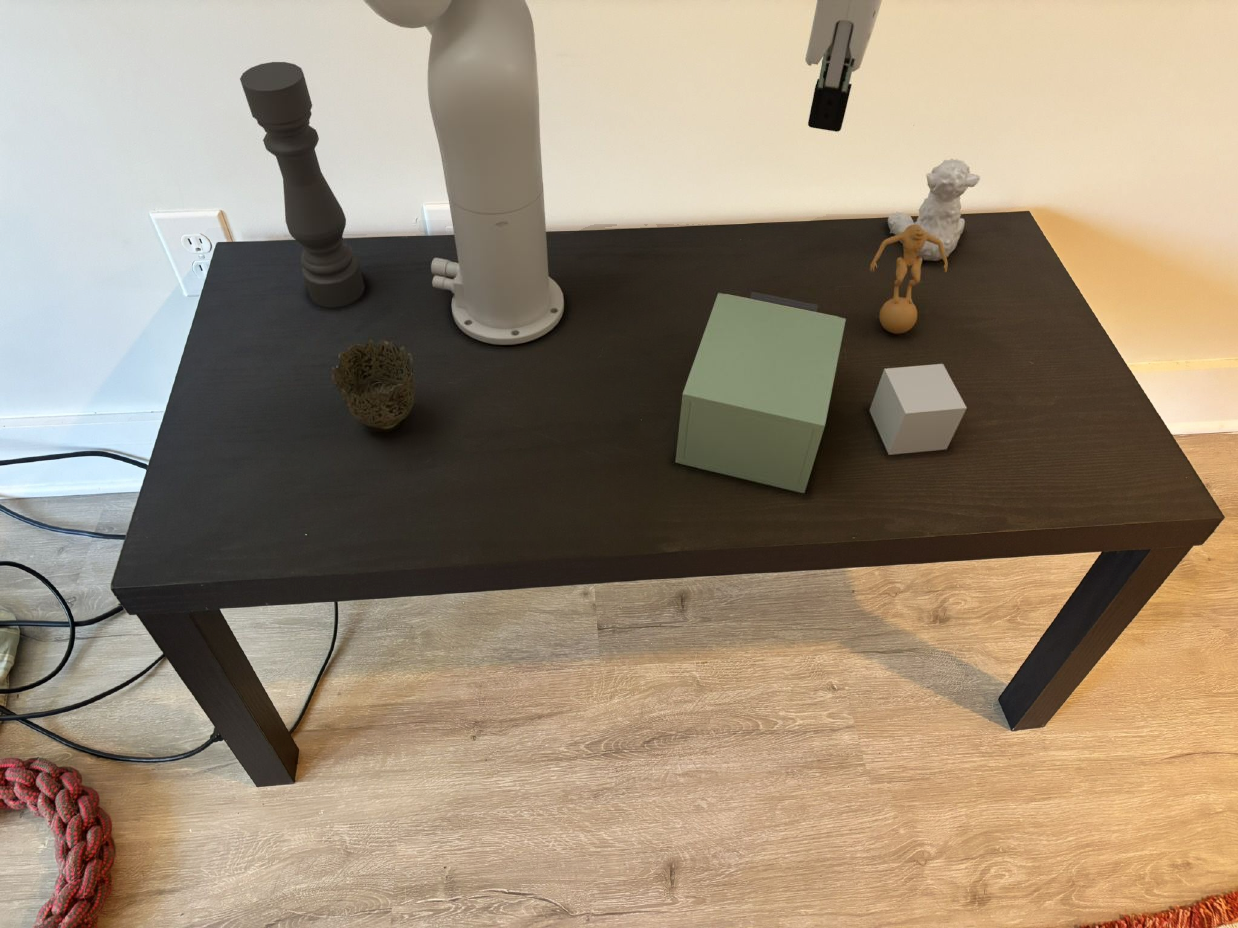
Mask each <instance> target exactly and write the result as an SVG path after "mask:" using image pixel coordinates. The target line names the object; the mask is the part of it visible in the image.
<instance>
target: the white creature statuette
mask: <svg viewBox="0 0 1238 928" xmlns="http://www.w3.org/2000/svg"><path fill="white" fill-rule="evenodd" d="M925 176H926V181H927V187H928V188H929V193H928V195H927V197H926V198H924V200H923V202H922V204H920V207H919V209H918V217H917V219H916V221H915V222H914V219H913V218H912V217H911V216H910V215H908V214H906V213H905V212H903V211H902V212H899V211H896V212H892V213H891V214H890V215H889V216H888V218H887V225H888V228H889V230H890V231H889V234H893V236H896V235H897V234H899V233H901V232H904V231H905V229H906V228H907V227H908V226H910V225H919V226H920V227H921V228H922V229H923V231H925V232H927V233H929V234H930V235H931V236H933V237H936V238H937V239H939V240H940V241H941V242H942V243H943V249H944V252H945V254H946V257H947V258H949V256H950V254H951V253H952V252H953V251H954V250H955V249H956V248H957V245H958V242H959V240H960V238H961V235H962V234H963V232H964V228H965V224H966V221H965V219H964V218H962V217H961V216H962V212H961V209H962V205H961V204H962V203H961V196H963V195H964V193H965V192H967V190H968V189H969V188H973V187H975V186H976V185H978V183H979V182H980V180H981V176H980V175H978V174H974V173H971V171H970V166H969V165H968V164H967V163H965V161H964V160H959V159H953V158H950V159H944V160H943V161H942V163H940V164H939V165H938V166H937V165H936V166H935V167H933V168H932V170H931V172H928V173H926V175H925ZM899 242H900V244H902V245H903V241H899ZM919 257H921V258H922V261H928V262H937V261H940V260H943V259H942V257H941V254H940V250H939V246H938V245H937V244H934V243H931V242H929V241H925V244H924V246H923V248H922V249H921V250H920V252H919V253H918V254H917V257H916V259H917V258H919Z"/></svg>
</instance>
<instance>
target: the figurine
mask: <svg viewBox="0 0 1238 928" xmlns="http://www.w3.org/2000/svg"><path fill="white" fill-rule="evenodd" d="M900 241H903V244H902V249H903V257H902V256H900V257H897V259H896V260H895V261H896V262H895V265H896V270H895V277H896V280H894V283H893V284H894V288H893V297H892V298H890V299H887V301H885V303H883V305H882V307H880V310H879V315H878V316H879V323H880V324H881V327H882V328H883V329H884V330H886V332H888V333H891V334H897V335H898V334H899V335H900V334H903V333H907V332H909V330H911V329H912V328H914V326H915V324H916V322H917V319H918V310H917V309H918V308H917V307H916V305H915V304H914V303H913V299H912V287H914V286H916V285H918V284H919V283H920V282H921V274H922V270H921V268H922V264H923V260H922V258H921V257H919V258H917V254H918V253H919V252H920V250H921V249H922V248H923V246H924V244H925V241H929V242H931V243H934V244H937V245H938V246H939V250H940V254H941V257H942V259H941V260H942V261H943V262H944V265H943V269H944V273H947V271H948V268H949V267H948V266H949V265H948V264H949V263H948V259H947V258H948V257H946V254H945V252H944V249H943V243H942V242H941V241H940V240H939V239H937V238H936V237H933V236H931V235H930V234H929V233H927V232H925V231H923V229H922V228H921V227H920V226H919V225H910V226H908V227H907V228H906V229H905V231H904V232H901V233H899V234H897V235H896V236H895V235H893V236H890V237H889V238H886V239H884V240H883V241H882V242H881V244H880V246H879V249H878V250H877V252H876V254H875V255H874V258H873V260H872V261H871V263H870V267H869V271H870V272H873V273H874V272H875V269H877V268H878V265H877V261H878V260H879V259H880V257H881V255H882V254H883V252H884V250H885V248H886V246H888V245H890V244H894V243H897V242H900ZM908 267H911V268H910V275H911V276H912V279H910V280H909V281H908V284H907V288H906V293H905V297H903V296H899V295H900V294H899V292H900V287H899V286H901V284H902V283H903V281H904V279H905V276H906V275H907V273H908Z"/></svg>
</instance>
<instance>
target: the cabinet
mask: <svg viewBox="0 0 1238 928" xmlns="http://www.w3.org/2000/svg"><path fill="white" fill-rule="evenodd" d="M726 294H727V293H721V292H718V293H717V295H716V297H715V301H714V303H713V306H712V309H711V312H710V315H709V319H708V320H707V324H706V326H705V329H704V332H703V335H702V337H701V341H700V343H699V347H698V349H697V351H696V355H695V358H694V361H693V363H692V366H691V369H690V372H689V374H688V377H687V380H686V383H685V385H684V389H683V391H682V396H681V405H680V414H679V415H680V416H679V425H678V433H677V442H676V453H675V463H676V464H680V465H684V466H688V467H692V468H697V469H700V470H704V471H708V472H712V473H717V474H721V475H726V476H730V477H733V478H737V479H742V480H746V481H749V482H750V481H751V482H754V483H759V484H763V485H768V486H771V487H776V488H780V489H784V490H788V491H792V492H796V493H801V494H805V493H806V489H807V486H808V483H809V479H810V476H811V473H812V470H813V466H814V463H815V460H816V456H817V455H818V454H817V453H818V451H819V447H820V444H821V440H822V437H823V434H824V430H825V427H826V423H827V417H828V413H829V407H830V402H831V397H832V392H833V386H834V383H835V382H834V381H835V376H836V372H837V366H838V362H839V357H840V351H841V346H842V341H843V336H844V331H845V326H846V321H847V319H846V318H844V317H840V316H838V317H835V316H836V315H833V316H830V315H831V314H828V315H825V314H826V313H823V314H820V313H821V312H818V313H815V312H810V311H805V310H800V309H795V308H790V307H786V306H781V305H776V304H771V303H766V302H761V301H756V300H751V299H750V298H749V299H746V298H747V297H744V298H741V297H742V296H739V297H736V296H737V295H734V296H731V295H732V294H729V295H726Z"/></svg>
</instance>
